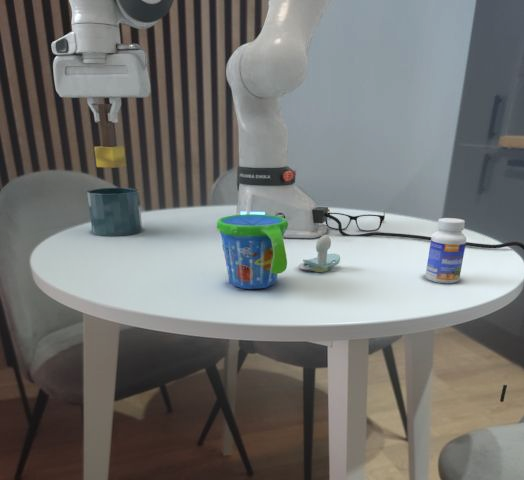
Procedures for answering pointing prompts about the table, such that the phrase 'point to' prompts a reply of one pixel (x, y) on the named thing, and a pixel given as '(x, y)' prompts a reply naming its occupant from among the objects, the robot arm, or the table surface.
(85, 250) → the table surface
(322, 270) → the pacifier
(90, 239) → the table surface
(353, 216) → the eyeglasses
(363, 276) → the table surface
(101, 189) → the canister
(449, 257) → the pill bottle
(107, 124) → the scrubber
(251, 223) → the snack cup
